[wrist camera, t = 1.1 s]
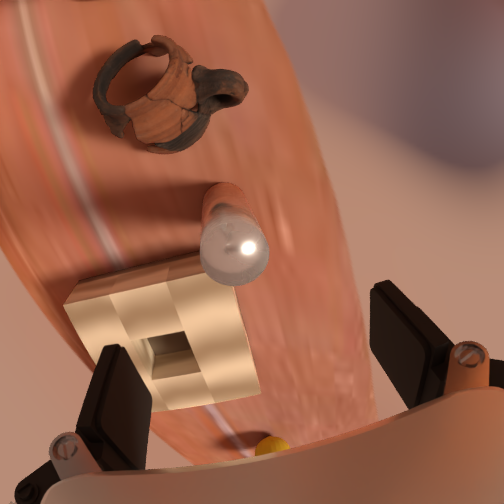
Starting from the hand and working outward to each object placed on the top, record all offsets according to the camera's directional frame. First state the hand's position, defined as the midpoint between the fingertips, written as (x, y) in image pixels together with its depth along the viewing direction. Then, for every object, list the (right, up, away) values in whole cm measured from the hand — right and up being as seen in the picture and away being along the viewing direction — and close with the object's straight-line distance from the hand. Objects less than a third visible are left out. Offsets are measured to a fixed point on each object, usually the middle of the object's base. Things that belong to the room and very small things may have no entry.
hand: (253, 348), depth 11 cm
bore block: (-9, -5, +23) cm, 25 cm away
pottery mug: (-7, +17, +14) cm, 23 cm away
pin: (-3, +8, +18) cm, 20 cm away
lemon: (+3, -26, +33) cm, 42 cm away
